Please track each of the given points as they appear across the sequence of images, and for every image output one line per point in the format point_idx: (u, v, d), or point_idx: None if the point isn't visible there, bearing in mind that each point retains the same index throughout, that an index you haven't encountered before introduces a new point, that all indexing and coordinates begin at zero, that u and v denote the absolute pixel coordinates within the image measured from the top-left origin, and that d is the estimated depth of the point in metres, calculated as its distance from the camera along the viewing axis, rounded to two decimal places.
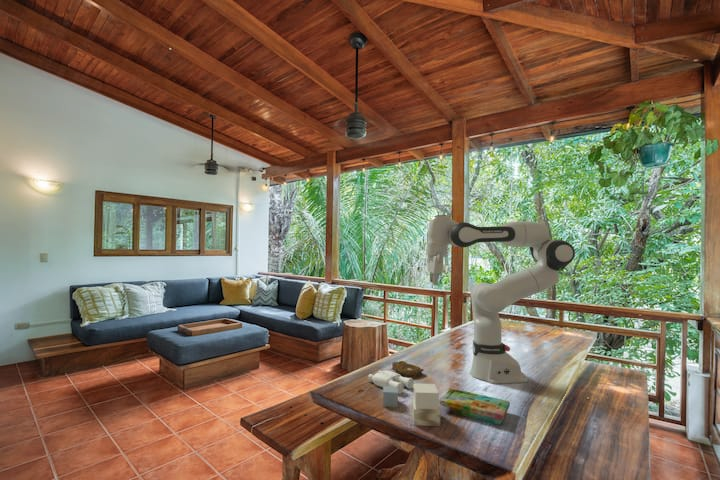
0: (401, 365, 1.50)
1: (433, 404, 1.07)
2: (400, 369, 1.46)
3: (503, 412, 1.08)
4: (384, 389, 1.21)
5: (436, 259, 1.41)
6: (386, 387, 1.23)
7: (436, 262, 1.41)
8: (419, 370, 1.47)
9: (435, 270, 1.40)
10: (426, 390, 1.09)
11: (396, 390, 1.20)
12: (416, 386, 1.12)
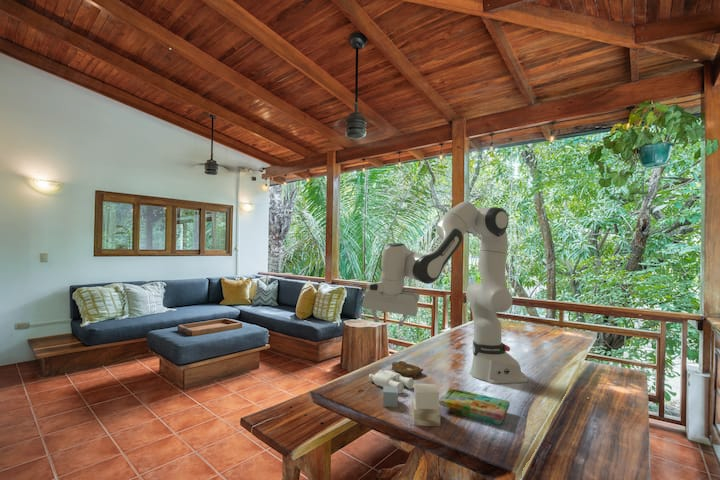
0: (401, 365, 1.50)
1: (433, 404, 1.07)
2: (400, 369, 1.46)
3: (503, 412, 1.08)
4: (384, 389, 1.21)
5: (415, 298, 1.24)
6: (386, 387, 1.23)
7: (416, 302, 1.24)
8: (419, 370, 1.47)
9: (416, 311, 1.24)
10: (426, 390, 1.09)
11: (396, 390, 1.20)
12: (416, 386, 1.12)
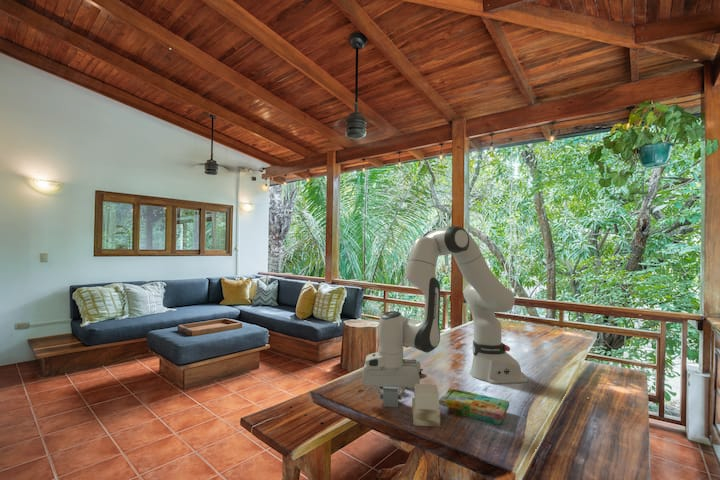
0: None
1: (433, 404, 1.06)
2: None
3: (503, 412, 1.08)
4: (384, 389, 1.21)
5: (417, 369, 1.19)
6: (386, 387, 1.23)
7: (418, 373, 1.19)
8: None
9: (419, 382, 1.19)
10: (426, 390, 1.08)
11: (396, 390, 1.20)
12: (416, 386, 1.12)
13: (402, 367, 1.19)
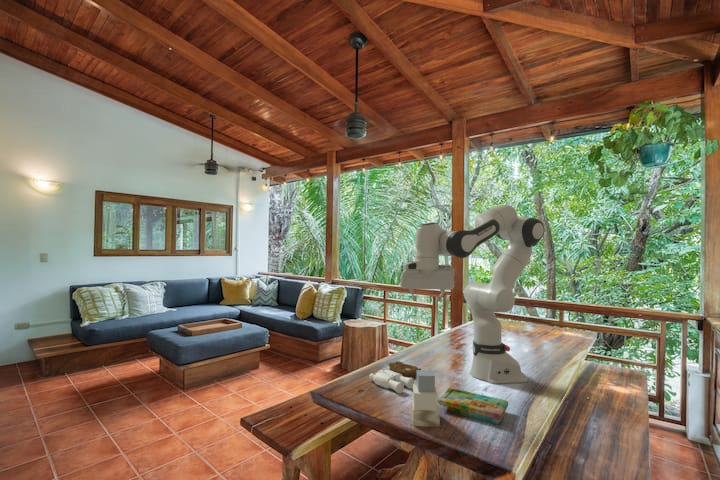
0: (399, 365, 1.50)
1: (431, 405, 1.06)
2: (399, 370, 1.46)
3: (501, 412, 1.08)
4: (419, 373, 1.10)
5: (452, 273, 1.31)
6: (420, 371, 1.12)
7: None
8: None
9: None
10: None
11: (432, 374, 1.09)
12: (415, 387, 1.11)
13: (438, 271, 1.31)
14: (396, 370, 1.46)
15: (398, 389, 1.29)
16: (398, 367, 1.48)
